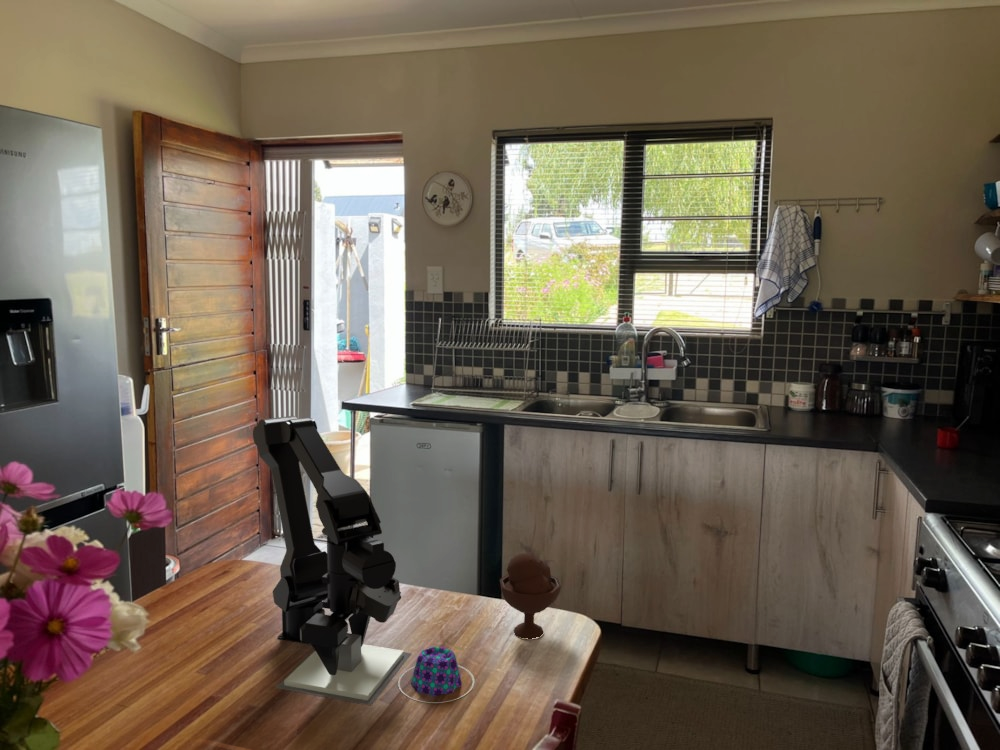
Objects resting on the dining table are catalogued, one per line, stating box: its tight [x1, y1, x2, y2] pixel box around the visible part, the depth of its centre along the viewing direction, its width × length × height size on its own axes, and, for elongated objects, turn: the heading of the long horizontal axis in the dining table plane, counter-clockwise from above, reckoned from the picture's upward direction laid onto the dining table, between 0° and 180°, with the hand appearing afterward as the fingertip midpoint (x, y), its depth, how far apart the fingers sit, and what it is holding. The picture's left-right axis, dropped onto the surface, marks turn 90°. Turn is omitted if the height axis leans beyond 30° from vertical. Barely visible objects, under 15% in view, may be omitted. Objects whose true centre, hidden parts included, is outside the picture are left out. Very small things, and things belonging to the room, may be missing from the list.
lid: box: [283, 632, 405, 700], centre depth 121 cm, size 14×14×5 cm
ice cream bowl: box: [499, 552, 562, 639], centre depth 135 cm, size 11×11×15 cm
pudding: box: [397, 646, 476, 704], centre depth 118 cm, size 12×12×5 cm
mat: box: [274, 650, 412, 706], centre depth 121 cm, size 16×16×1 cm
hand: (346, 660), depth 121 cm, fingers open, 9 cm apart
